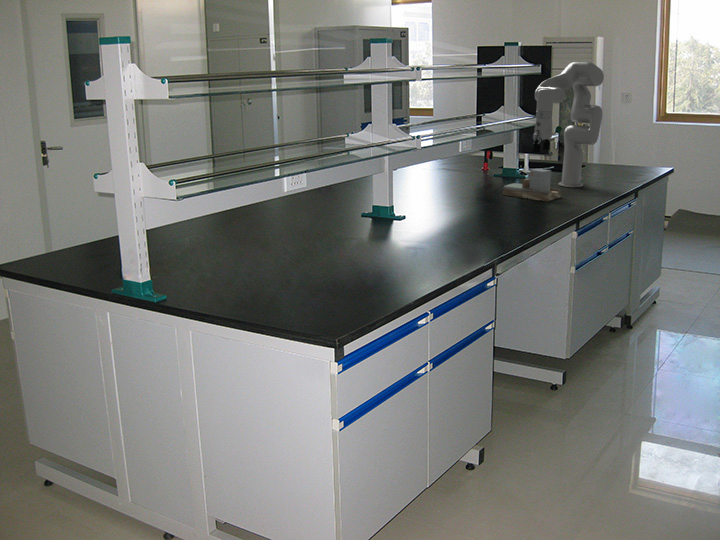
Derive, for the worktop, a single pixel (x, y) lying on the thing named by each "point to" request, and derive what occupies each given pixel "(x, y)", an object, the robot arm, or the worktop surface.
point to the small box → (540, 180)
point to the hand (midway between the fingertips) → (541, 150)
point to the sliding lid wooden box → (532, 193)
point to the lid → (521, 186)
